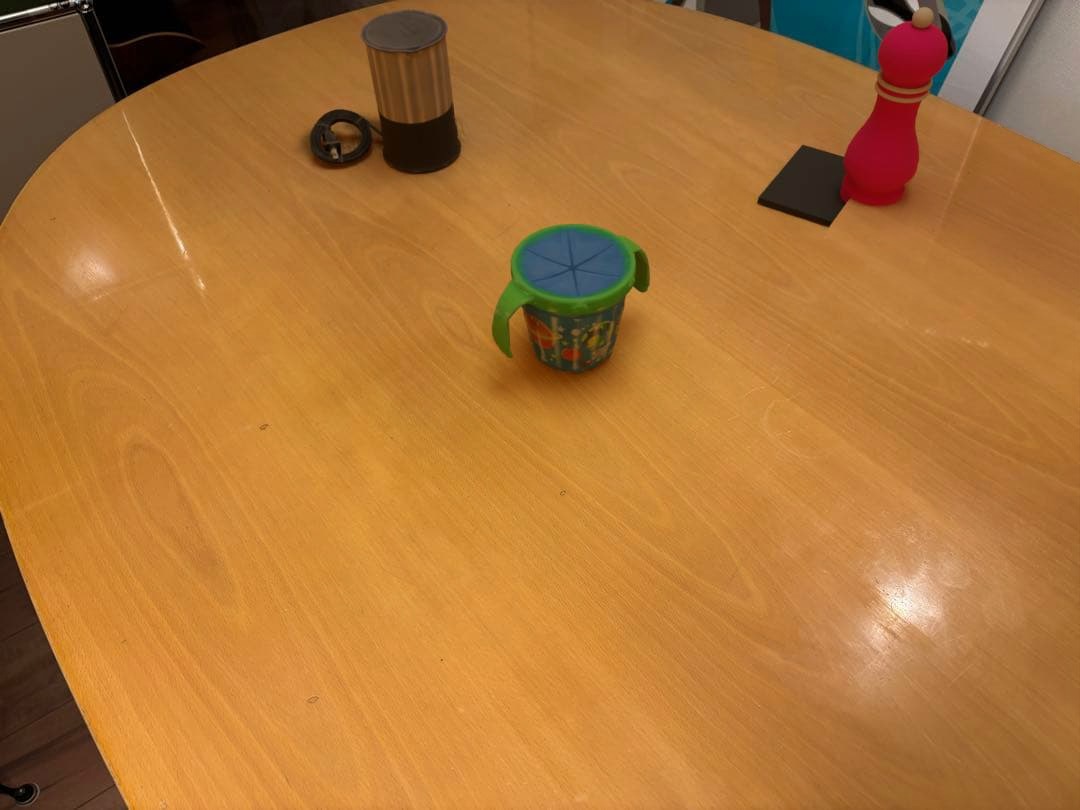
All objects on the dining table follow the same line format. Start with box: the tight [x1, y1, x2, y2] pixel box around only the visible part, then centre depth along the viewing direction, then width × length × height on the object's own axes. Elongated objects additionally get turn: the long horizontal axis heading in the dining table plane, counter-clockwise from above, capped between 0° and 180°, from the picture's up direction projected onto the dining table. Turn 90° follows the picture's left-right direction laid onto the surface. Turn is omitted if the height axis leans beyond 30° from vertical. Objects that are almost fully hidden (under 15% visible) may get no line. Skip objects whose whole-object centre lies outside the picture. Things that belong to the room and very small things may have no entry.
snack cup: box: [491, 223, 651, 375], centre depth 76 cm, size 16×10×10 cm
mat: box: [757, 144, 847, 228], centre depth 93 cm, size 20×12×1 cm, turn 56°
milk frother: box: [309, 8, 462, 173], centre depth 97 cm, size 14×16×15 cm
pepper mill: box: [840, 6, 949, 207], centre depth 85 cm, size 7×7×20 cm
